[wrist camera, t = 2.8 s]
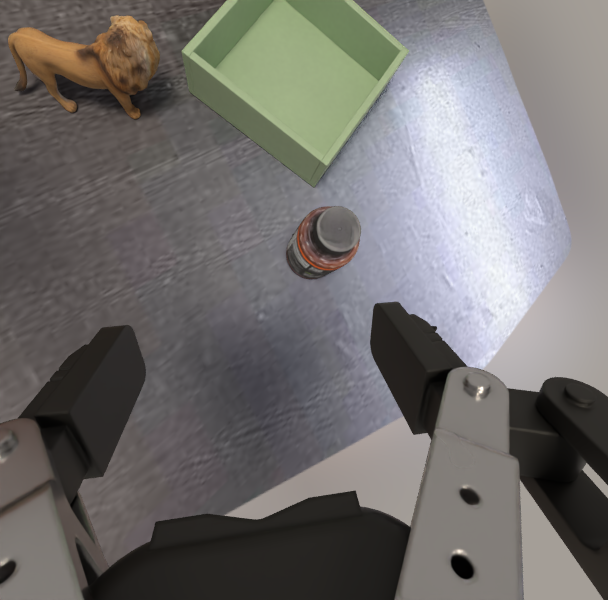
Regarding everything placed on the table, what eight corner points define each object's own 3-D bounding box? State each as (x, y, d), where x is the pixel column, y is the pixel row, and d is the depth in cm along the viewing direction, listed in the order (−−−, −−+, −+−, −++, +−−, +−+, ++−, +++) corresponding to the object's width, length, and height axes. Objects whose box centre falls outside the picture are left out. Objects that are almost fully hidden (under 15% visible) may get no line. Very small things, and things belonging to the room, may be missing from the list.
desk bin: (189, 91, 36) (181, 50, 30) (276, -9, 39) (282, -63, 34) (313, 187, 38) (327, 165, 33) (386, 86, 41) (409, 50, 36)
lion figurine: (169, 75, 36) (148, -5, 27) (174, 121, 35) (155, 56, 27) (16, 70, 32) (-65, -24, 24) (21, 120, 32) (-59, 45, 23)
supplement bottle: (327, 226, 38) (364, 189, 27) (338, 274, 38) (380, 256, 27) (279, 235, 37) (299, 199, 26) (291, 284, 37) (315, 269, 26)
